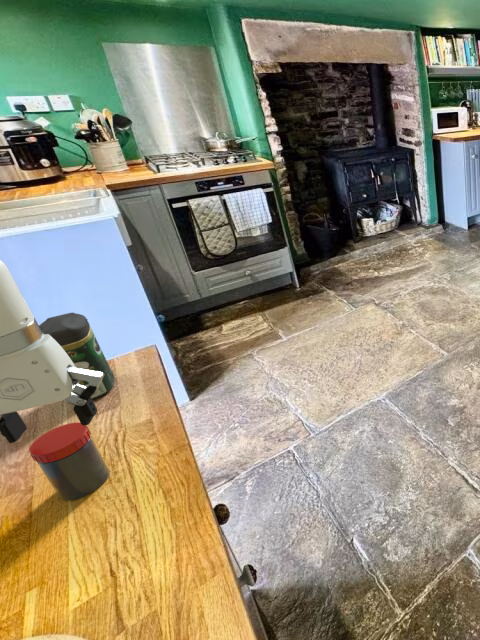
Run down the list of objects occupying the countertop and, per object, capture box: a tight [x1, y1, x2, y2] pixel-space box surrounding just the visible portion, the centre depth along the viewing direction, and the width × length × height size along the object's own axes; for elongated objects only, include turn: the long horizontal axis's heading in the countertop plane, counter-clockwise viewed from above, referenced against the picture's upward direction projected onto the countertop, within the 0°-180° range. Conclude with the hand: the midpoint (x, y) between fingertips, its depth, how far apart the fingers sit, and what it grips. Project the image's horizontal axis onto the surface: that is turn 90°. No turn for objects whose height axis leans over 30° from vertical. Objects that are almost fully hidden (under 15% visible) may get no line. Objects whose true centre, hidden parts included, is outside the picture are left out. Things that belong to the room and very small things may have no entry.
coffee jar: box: [38, 312, 115, 404], centre depth 88 cm, size 10×8×19 cm
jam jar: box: [36, 435, 111, 502], centre depth 69 cm, size 6×6×11 cm
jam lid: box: [28, 422, 92, 463], centre depth 67 cm, size 7×7×2 cm
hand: (55, 427), depth 66 cm, fingers open, 8 cm apart
